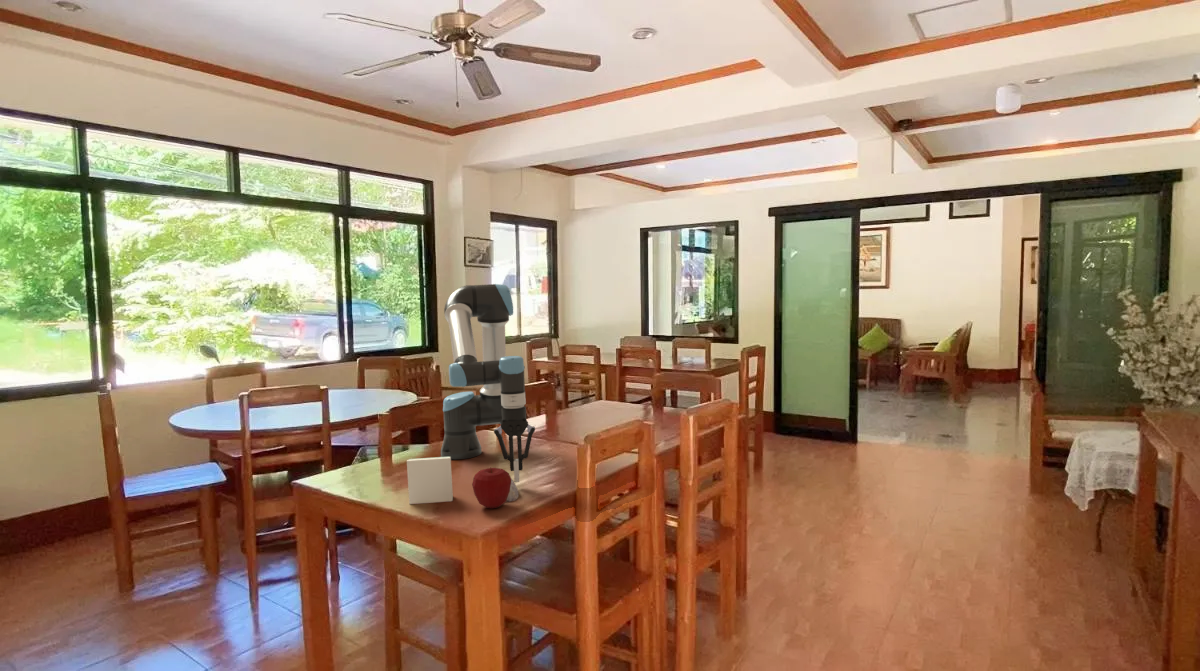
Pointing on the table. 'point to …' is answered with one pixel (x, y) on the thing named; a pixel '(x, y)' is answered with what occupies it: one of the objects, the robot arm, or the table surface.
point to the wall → (429, 480)
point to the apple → (491, 487)
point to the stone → (512, 492)
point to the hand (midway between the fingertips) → (517, 480)
